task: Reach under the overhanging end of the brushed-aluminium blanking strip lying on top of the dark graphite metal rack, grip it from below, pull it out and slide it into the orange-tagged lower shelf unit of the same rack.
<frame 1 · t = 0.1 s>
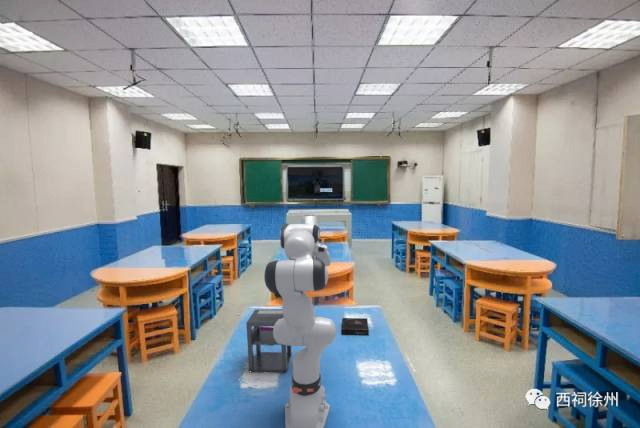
hand: (310, 274, 156), 48 cm above the table, tool pointing down, fingers open, 8 cm apart
mounting bracket: (272, 337, 191), on the table
portable cd player: (354, 329, 199), on the table
rack: (271, 363, 163), on the table
blanking strip: (281, 315, 160), point 26 cm above the table, touching rack
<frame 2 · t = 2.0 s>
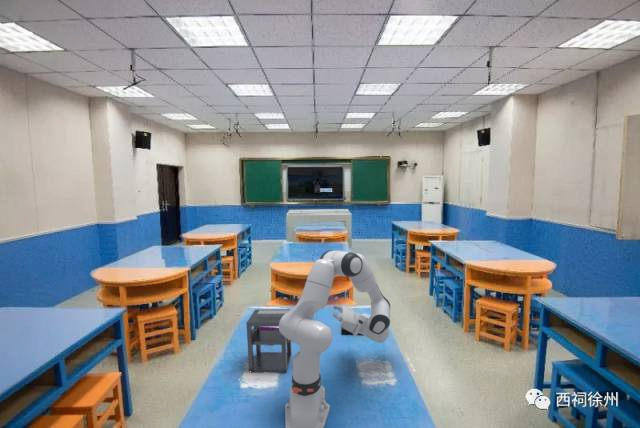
hand: (333, 310, 158), 29 cm above the table, tool pointing upward, fingers open, 8 cm apart
nothing on the table moved.
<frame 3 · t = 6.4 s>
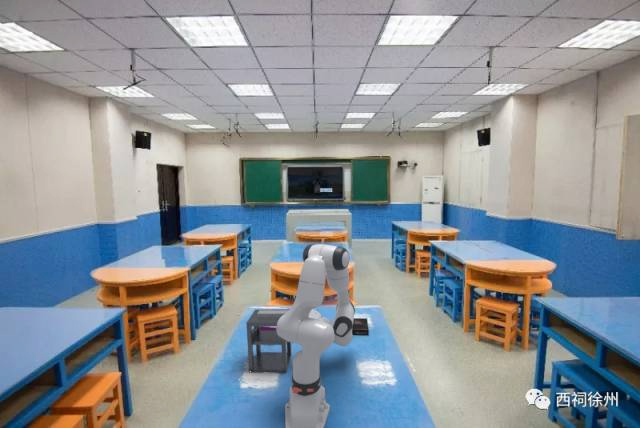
hand: (298, 312, 159), 27 cm above the table, tool pointing upward, fingers closed on blanking strip, 4 cm apart
blanking strip: (281, 315, 160), point 26 cm above the table, touching gripper, rack
everything else where it was.
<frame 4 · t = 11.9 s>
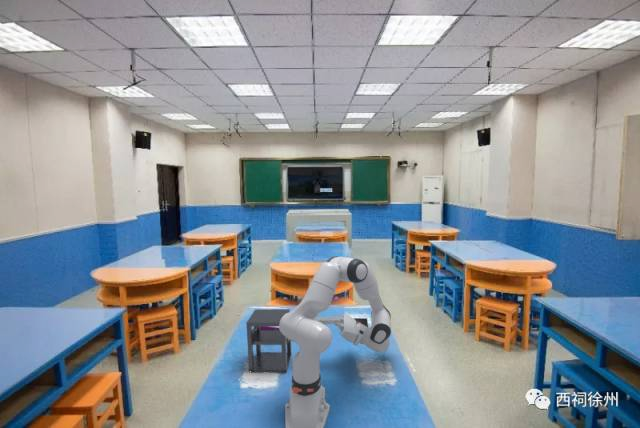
hand: (334, 319, 159), 24 cm above the table, tool pointing upward, fingers closed on blanking strip, 4 cm apart
blanking strip: (317, 322, 159), point 22 cm above the table, touching gripper
everything else where it was.
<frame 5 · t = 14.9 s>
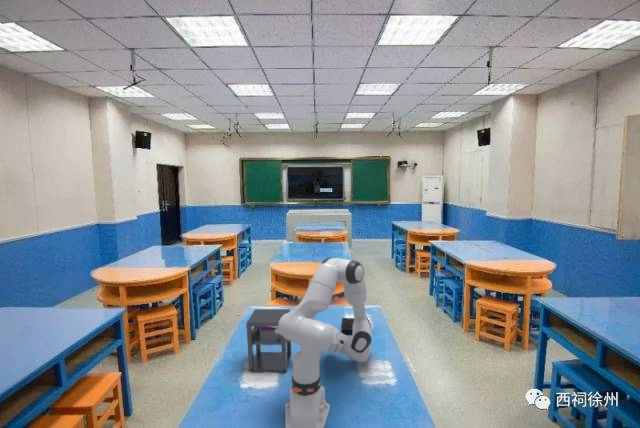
hand: (315, 329, 160), 19 cm above the table, tool pointing upward, fingers closed on blanking strip, 4 cm apart
blanking strip: (299, 331, 160), point 17 cm above the table, touching gripper
everything else where it was.
when the fingers open (19 cm above the table, at t = 17.4 s): blanking strip drops 2 cm, resting on rack.
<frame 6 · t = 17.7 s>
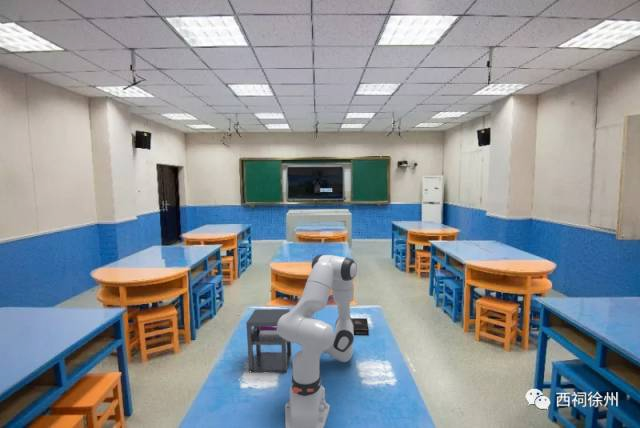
hand: (298, 328, 160), 19 cm above the table, tool pointing upward, fingers open, 7 cm apart
blanking strip: (282, 336, 161), point 15 cm above the table, touching rack
everything else where it was.
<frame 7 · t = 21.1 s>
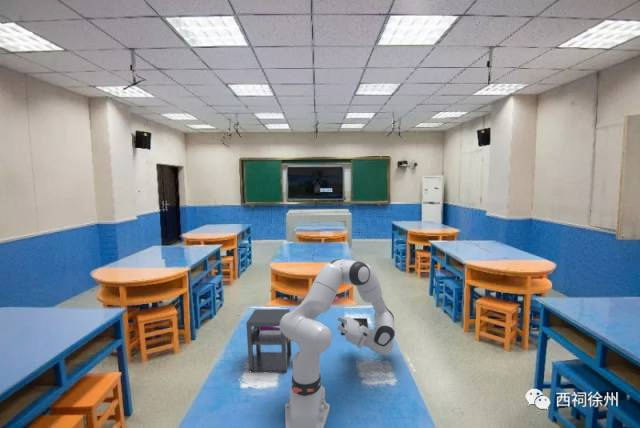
hand: (337, 322, 158), 22 cm above the table, tool pointing upward, fingers open, 8 cm apart
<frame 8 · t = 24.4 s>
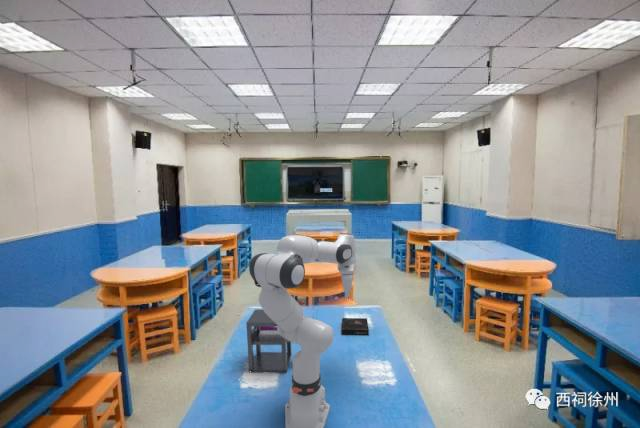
hand: (347, 293, 153), 39 cm above the table, tool pointing down, fingers open, 8 cm apart
at the end: blanking strip inside the target area (1.1 cm from its centre), point 15.0 cm above the table; blanking strip tilted 0°; the gripper is holding nothing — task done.
